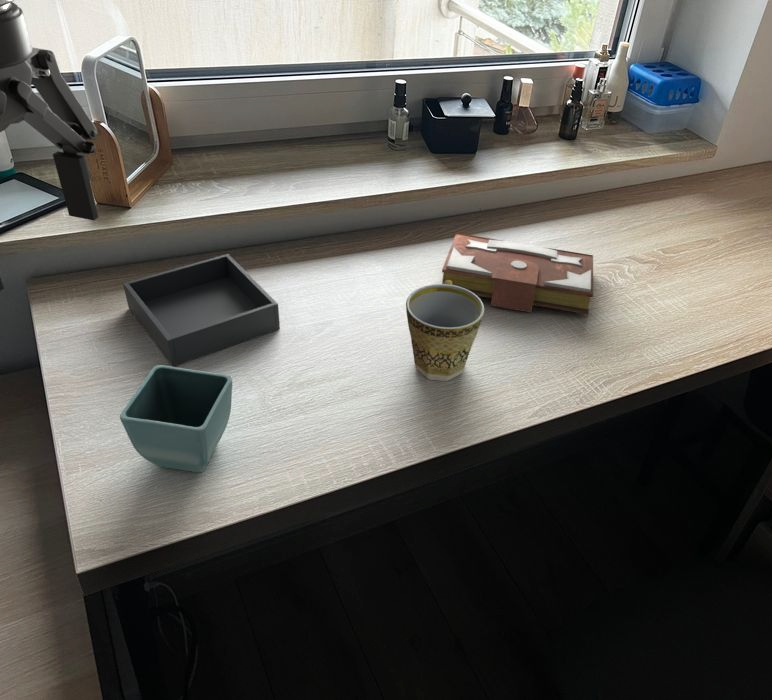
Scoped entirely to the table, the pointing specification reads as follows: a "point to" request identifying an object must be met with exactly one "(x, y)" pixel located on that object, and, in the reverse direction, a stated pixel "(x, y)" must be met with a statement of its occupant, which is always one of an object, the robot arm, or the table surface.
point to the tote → (201, 308)
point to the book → (520, 274)
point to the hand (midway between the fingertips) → (39, 249)
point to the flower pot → (178, 416)
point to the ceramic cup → (442, 328)
